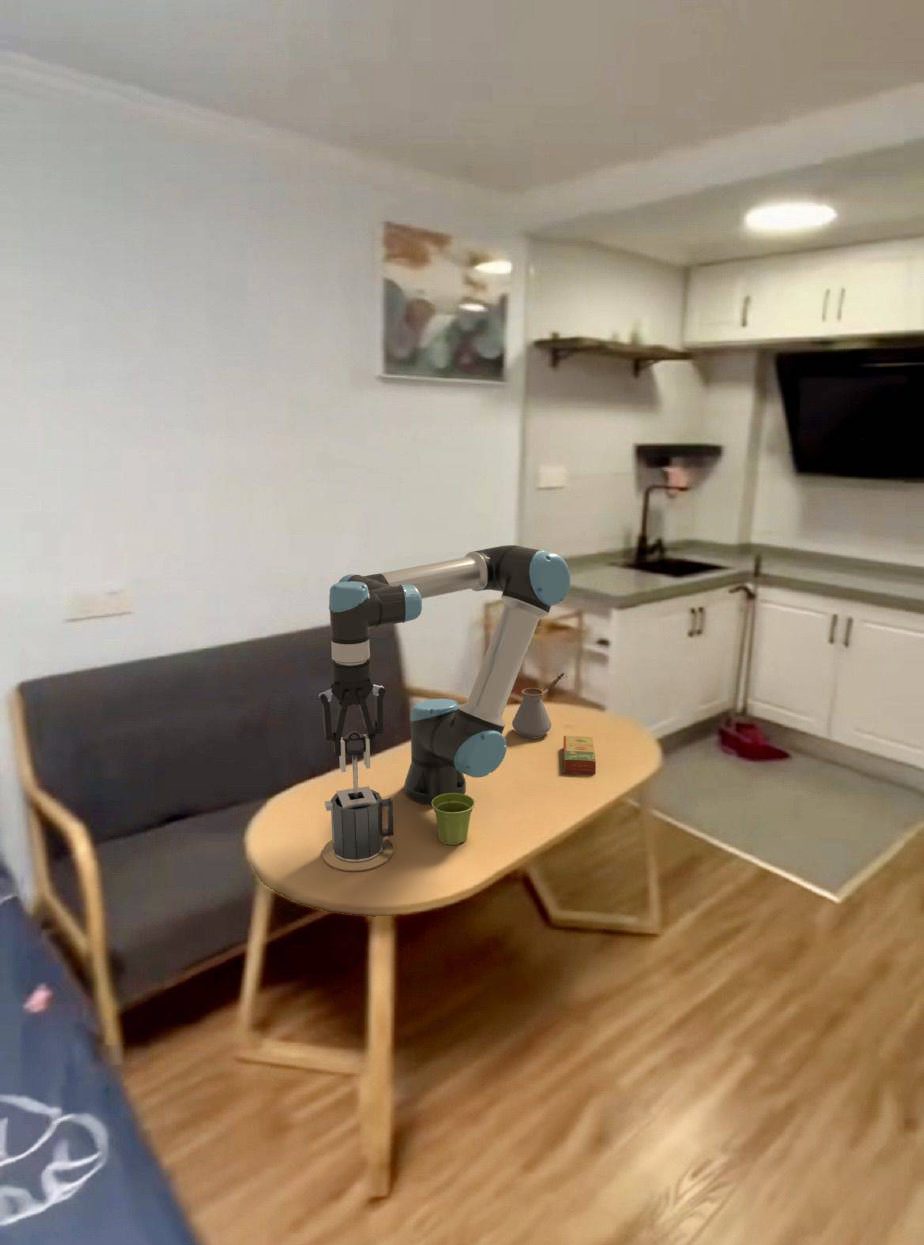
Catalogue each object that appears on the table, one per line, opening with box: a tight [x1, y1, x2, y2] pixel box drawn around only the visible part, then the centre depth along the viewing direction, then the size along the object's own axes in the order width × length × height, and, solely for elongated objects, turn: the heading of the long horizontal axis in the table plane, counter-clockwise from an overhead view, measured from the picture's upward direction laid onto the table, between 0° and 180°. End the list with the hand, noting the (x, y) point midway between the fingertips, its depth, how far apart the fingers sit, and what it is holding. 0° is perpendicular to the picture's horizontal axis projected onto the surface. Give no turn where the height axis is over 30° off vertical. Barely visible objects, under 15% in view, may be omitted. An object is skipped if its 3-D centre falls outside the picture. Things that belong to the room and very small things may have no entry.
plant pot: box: [430, 793, 475, 846], centre depth 173 cm, size 9×9×9 cm
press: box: [321, 785, 395, 873], centre depth 167 cm, size 15×15×13 cm
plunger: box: [342, 730, 365, 809], centre depth 165 cm, size 7×7×21 cm
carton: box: [562, 735, 597, 775], centre depth 213 cm, size 8×16×4 cm, turn 174°
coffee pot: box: [511, 672, 568, 739], centre depth 233 cm, size 21×12×15 cm, turn 136°
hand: (355, 767), depth 164 cm, fingers closed on plunger, 4 cm apart
